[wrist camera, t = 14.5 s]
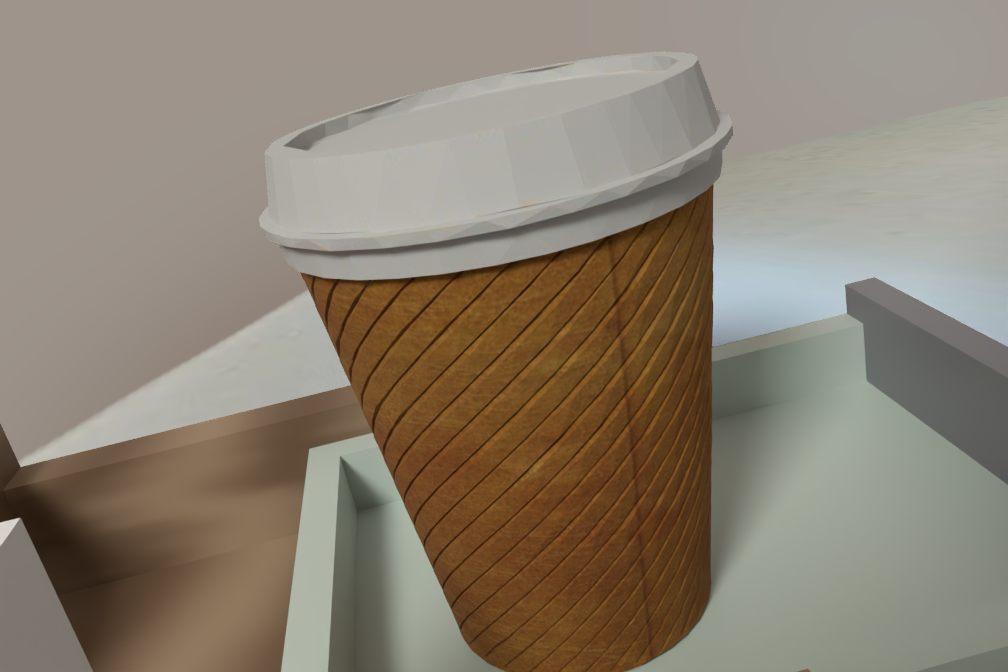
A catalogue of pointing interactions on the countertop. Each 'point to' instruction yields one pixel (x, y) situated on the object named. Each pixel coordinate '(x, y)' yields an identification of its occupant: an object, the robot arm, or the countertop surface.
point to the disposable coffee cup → (530, 339)
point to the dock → (180, 535)
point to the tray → (747, 515)
